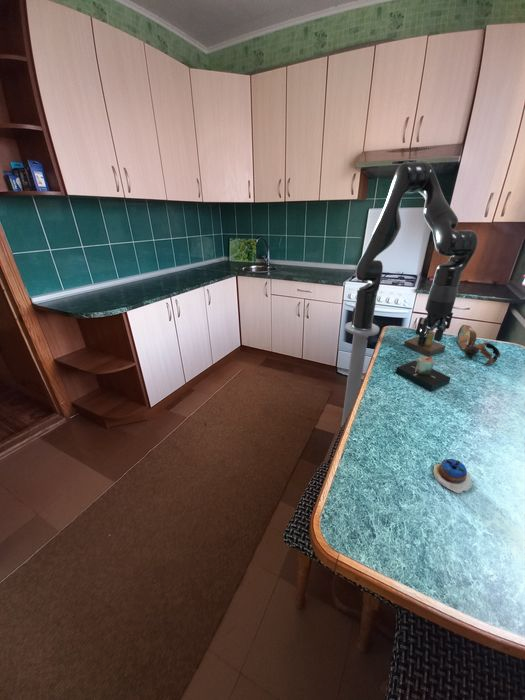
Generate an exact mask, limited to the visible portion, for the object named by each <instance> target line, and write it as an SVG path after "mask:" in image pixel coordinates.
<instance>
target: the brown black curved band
mask: <svg viewBox="0 0 525 700" xmlns="http://www.w3.org/2000/svg"><path fill="white" fill-rule="evenodd" d="M488 349H490V350H492V353H491V352H489V350H488ZM463 352H464V354H465V358H468V359H472V358H473V357H474V356H476V355H477V354H478V353H480V354H481V355H483V356H484V357H485V358H486V359H488V360H487V361H486V362H485V365H486V366H490V365H492V364H495V363H496V362H497V361H498V358H500V357H501V352H500V350H499V349H498V347H497V346H496V345H494V344H493V343H491V342H488V341H487V342H486V341H485V342H483V343H477V344H476V343H475V344H474V346H469V347H467V348H465V350H463ZM493 354H494V355H493Z"/></svg>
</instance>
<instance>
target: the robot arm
mask: <svg viewBox="0 0 525 700" xmlns="http://www.w3.org/2000/svg"><path fill="white" fill-rule="evenodd" d="M416 193H420V195H421V196H423V198H424V200H425V201H424V206H423V218H424V220H425V222H426V224H427V225H428V228H430V230H431V232H432V238H433V242H434V248H435V250H436V252H437V253H438V254H439V255H441V256H443V257H449V259H448V260H447V261H445V262H443V263H440V264H439V265H438V266H437V267H436V269H435V273H434V276H433V281H432V283H431V286H430V289H429V292H428V297H427V300H426V304H425V309H424V310H425V312H426V313H427V315H426V316H425V317H422V316H421V317H419V319H418V321H417V322H418V323H417V325H416V329H415V335H416V336H418V337H419V340H418V346H421V347H424V346H425V343H426V340H427V336H428V334H429V333H430V332H434V330H435V329H436V330H435V332H434V337H433V341H435V342H437V343H439V342H441V341H442V338H443V336H444V333H445V332H446V330H448V329H450V326H451V323H452V320H453V317H454V316H453V315H454V312H453V310H454V306H455V302H456V298H457V296H458V293H459V292H458V291H459V286H460V282H461V278H462V276H463V272H464V271H465V269H466V268H467V266H468V264H469V263H470V261H471V259H472V257H473V256H474V254H475V252H476V250H477V248H478V244H479V237H478V234H477V232H475V231H474V230H471V229H461V230H460V229H458V230H455V229H456V227H458V224H459V218H458V216H457V215H456V213H455V211H454V210H453V208H452V207H451V206H450V204H449V203H448V201H447V200H446V198H445V195H444V192H443V191H442V188H441V185H440V183H439V180H438V178H437V175H436V172H435V170H434V168H433V166H432V164H431V163H430V162H427V161H405V162H403V163H401V164H400V165H399V166H398V167H397V169H396V171H395V173H394V175H393V177H392V181H391V183H390V187H389V190H388V193H387V196H386V200H385V202H384V205H383V207H382V210H381V213H380V215H379V217H378V220H377V222H376V224H375V226H374V229H373V230H372V235H371V237H370V239H369V241H368V243H367V245H366V248H365V250H364V252H363V254H362V255H361V257H360V259H359V261H358V263H357V265H356V268H355V278H356V279H357V280H358V281H362V282H365V281H368V282H367V283H364V284H363V285H361V286H358V288H357V291H356V297H355V304H354V307H353V309H352V317H351V322H352V323H351V326H352V327H353V328H354V329H357V330H362V331H367V330H371V329H372V324H374V315H375V309H376V303H377V298H378V297H377V296H378V292H379V289H380V286H381V280H382V276H383V271H384V265H383V262H382V261H381V260H380V259H376V258H377V257H378V256H380V254H382V253H384V251H386V250H387V249H388V248H389V247H390V246H391V245H392V244H394V242H395V240H396V238H397V236H398V234H399V232H400V230H401V228H402V220H401V214H400V204H401V201H402V199H403V197H404V196H405V194H416ZM426 330H427V332H426V333H425V331H426Z"/></svg>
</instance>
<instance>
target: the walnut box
mask: <svg viewBox="0 0 525 700" xmlns="http://www.w3.org/2000/svg"><path fill="white" fill-rule="evenodd" d="M418 340H419V336H415V337H413V338H410V339H406V340H404V344H403V347H406V348H408V349H410V350H412V351H415V352H417V353H420V354H422V355H424V356H425V357H432V356H435V355H438V354H440V353H443V352H445V350H446V345H444V344H442V343H439V342H438V341H435V340H433V341H432V344H431V345H429V346H426V345H425V346H424V347H421V346H418Z"/></svg>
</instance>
